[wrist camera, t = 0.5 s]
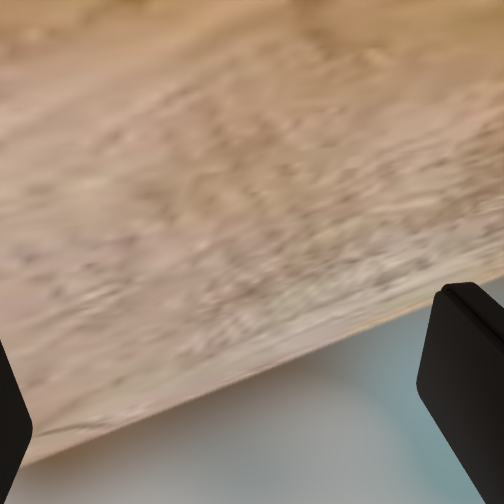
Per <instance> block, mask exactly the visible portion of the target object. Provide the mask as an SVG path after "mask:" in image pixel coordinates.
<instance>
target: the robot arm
mask: <svg viewBox="0 0 504 504" xmlns="http://www.w3.org/2000/svg"><path fill="white" fill-rule="evenodd" d="M416 385H417V391H418V394H419V396H420V398H421V400H422V401H423V403H424V404H425V406H426V408H427V409H428V411H429V413H430V414H431V416H432V417H433V419H434V421H435V422H436V424H437V426H438V427H439V429H440V430H441V432H442V434H443V435H444V437H445V438H446V440H447V442H448V443H449V445H450V447H451V448H452V450H453V451H454V453H455V455H456V456H457V458H458V459H459V461H460V463H461V464H462V466H463V468H464V469H465V471H466V472H467V474H468V476H469V477H470V479H471V481H472V482H473V484H474V485H475V487H476V489H477V490H478V492H479V494H480V495H481V497H482V498H483V500H484V502H485V503H486V504H504V308H503V307H502V306H501V305H499V304H498V303H497V302H496V301H495V300H494V299H492V298H491V297H490V296H489V295H488V294H487V293H486V292H485V291H484V290H482V289H481V288H480V287H479V286H478V285H477V284H475V283H473V282H464V283H452V284H446V285H444V286H443V287H442V289H441V291H438V292H437V293H436V294H435V297H434V301H433V305H432V310H431V315H430V319H429V324H428V329H427V333H426V339H425V343H424V348H423V352H422V357H421V362H420V366H419V371H418V376H417V382H416ZM32 430H33V427H32V421H31V418H30V415H29V413H28V410H27V408H26V405H25V402H24V400H23V397H22V395H21V392H20V390H19V387H18V384H17V382H16V379H15V377H14V374H13V371H12V369H11V366H10V364H9V361H8V359H7V356H6V353H5V351H4V348H3V346H2V343H1V341H0V504H4V502H5V500H6V497H7V495H8V492H9V490H10V488H11V486H12V483H13V481H14V478H15V476H16V474H17V471H18V469H19V466H20V464H21V462H22V459H23V457H24V455H25V452H26V450H27V447H28V445H29V443H30V440H31V437H32Z"/></svg>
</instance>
